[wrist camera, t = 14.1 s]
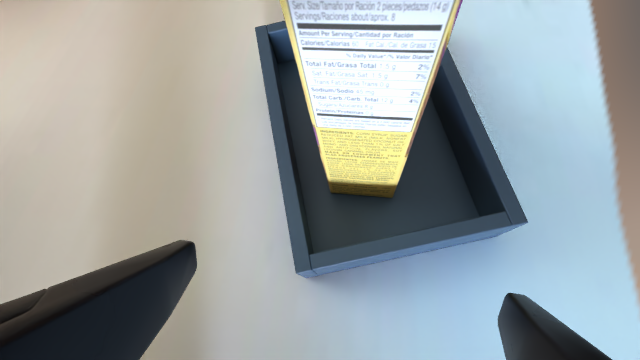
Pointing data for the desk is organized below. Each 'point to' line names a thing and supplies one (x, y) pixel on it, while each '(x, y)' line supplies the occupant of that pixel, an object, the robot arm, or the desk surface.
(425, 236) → the tote
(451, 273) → the desk surface
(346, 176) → the candy box
